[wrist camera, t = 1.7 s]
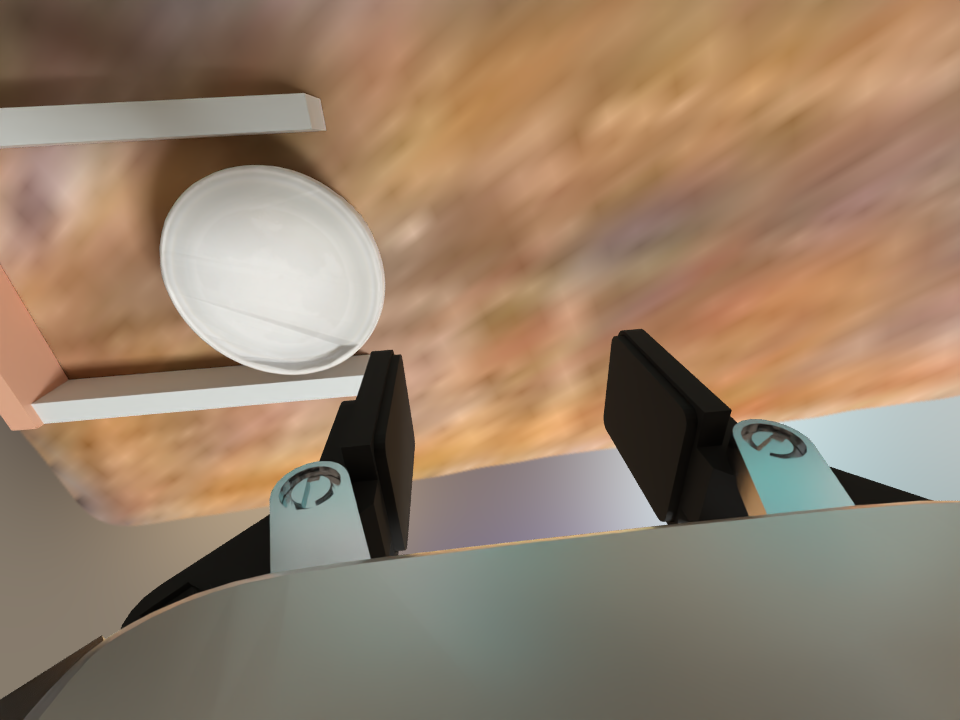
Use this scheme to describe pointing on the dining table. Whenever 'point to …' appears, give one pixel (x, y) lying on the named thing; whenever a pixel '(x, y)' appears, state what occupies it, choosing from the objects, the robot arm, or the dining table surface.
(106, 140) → the bay
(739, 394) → the dining table surface
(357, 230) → the ramekin
